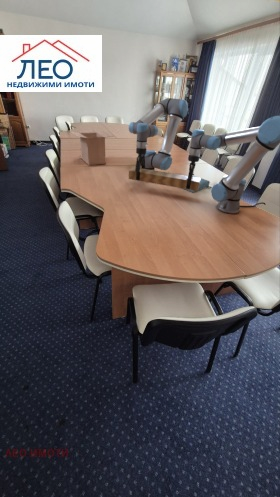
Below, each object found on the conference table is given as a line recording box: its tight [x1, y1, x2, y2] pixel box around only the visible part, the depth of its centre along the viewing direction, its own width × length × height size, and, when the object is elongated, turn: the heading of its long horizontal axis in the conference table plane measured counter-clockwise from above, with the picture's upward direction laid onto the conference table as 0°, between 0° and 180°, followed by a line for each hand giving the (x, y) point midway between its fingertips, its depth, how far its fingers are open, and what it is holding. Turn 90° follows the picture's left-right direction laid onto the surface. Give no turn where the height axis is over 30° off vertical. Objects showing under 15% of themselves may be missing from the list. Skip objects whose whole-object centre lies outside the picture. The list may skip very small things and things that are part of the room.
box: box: [70, 129, 114, 166], centre depth 229 cm, size 44×36×27 cm
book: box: [185, 175, 211, 193], centre depth 191 cm, size 23×16×5 cm
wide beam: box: [128, 166, 202, 192], centre depth 168 cm, size 54×10×6 cm, turn 71°
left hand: (139, 177), depth 174 cm, fingers closed on wide beam, 10 cm apart
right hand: (188, 186), depth 165 cm, fingers closed on wide beam, 10 cm apart
